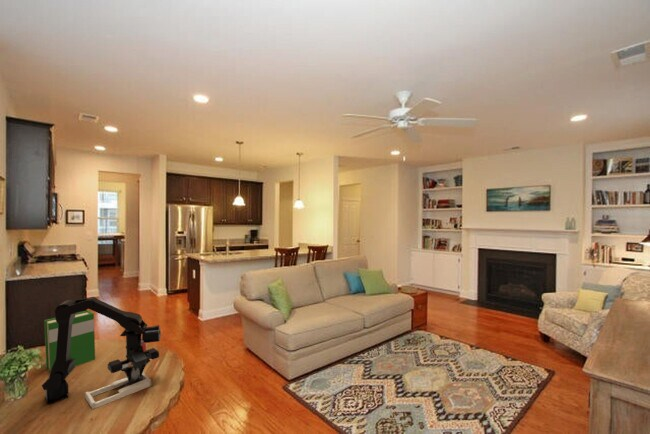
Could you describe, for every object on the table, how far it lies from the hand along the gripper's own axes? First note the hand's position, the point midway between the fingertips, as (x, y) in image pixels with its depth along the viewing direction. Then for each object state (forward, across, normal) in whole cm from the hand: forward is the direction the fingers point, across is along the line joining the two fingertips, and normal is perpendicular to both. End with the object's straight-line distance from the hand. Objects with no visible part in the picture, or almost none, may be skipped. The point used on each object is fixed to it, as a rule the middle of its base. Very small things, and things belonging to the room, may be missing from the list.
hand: (134, 378), depth 140 cm
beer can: (+3, +7, +18) cm, 20 cm away
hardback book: (+3, -15, +43) cm, 46 cm away
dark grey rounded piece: (+3, 0, 0) cm, 3 cm away
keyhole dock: (+3, -6, 0) cm, 7 cm away
